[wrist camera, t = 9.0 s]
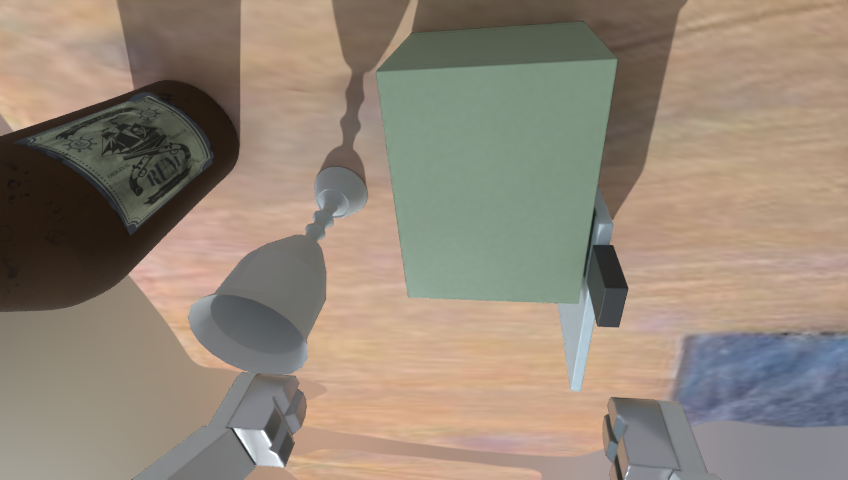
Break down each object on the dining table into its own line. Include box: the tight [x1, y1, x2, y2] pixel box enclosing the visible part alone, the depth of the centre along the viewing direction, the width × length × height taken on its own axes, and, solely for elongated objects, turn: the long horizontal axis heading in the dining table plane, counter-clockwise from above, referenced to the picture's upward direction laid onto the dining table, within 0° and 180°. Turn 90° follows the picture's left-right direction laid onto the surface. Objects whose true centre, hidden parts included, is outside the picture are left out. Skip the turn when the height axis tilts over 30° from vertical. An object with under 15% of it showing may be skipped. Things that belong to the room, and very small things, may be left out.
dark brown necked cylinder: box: [0, 81, 238, 312], centre depth 29 cm, size 11×11×25 cm
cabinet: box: [376, 21, 618, 304], centre depth 30 cm, size 12×16×11 cm
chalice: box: [188, 167, 368, 375], centre depth 33 cm, size 7×7×18 cm
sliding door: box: [558, 185, 628, 391], centre depth 33 cm, size 1×16×15 cm, turn 5°
